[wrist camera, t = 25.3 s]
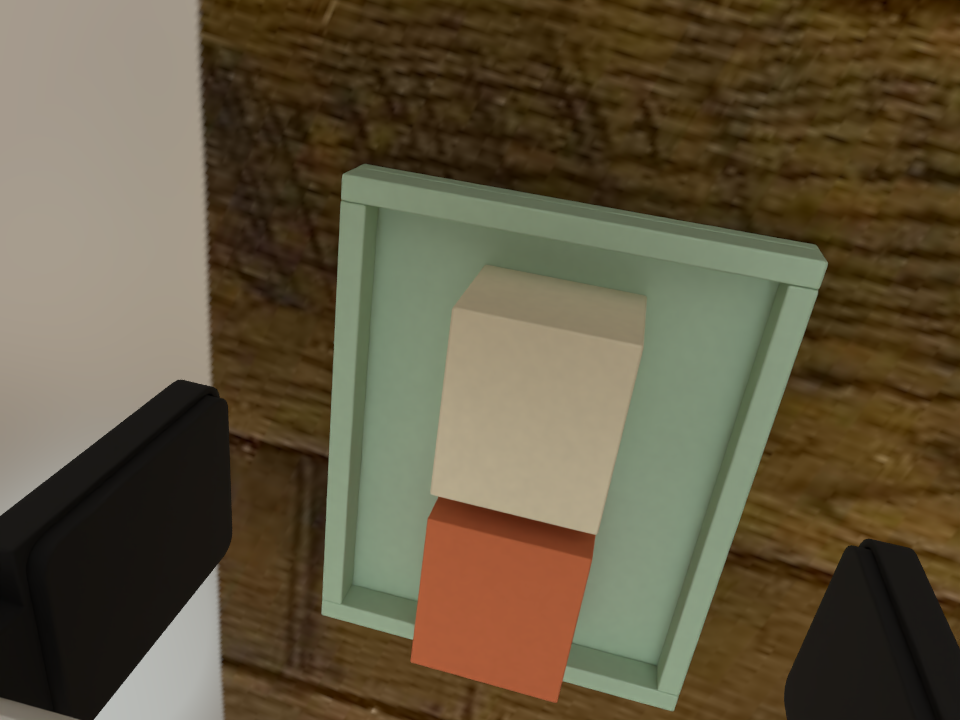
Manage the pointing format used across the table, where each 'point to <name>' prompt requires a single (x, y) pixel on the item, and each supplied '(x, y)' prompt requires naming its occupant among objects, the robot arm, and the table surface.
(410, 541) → the sage green tray
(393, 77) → the table surface
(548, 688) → the terracotta block
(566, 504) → the beige block
